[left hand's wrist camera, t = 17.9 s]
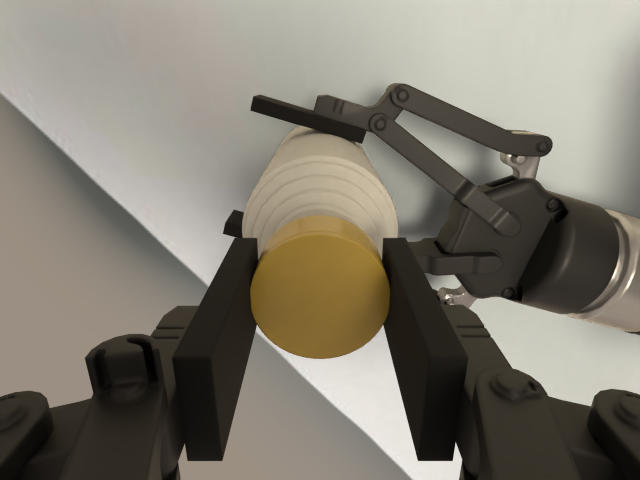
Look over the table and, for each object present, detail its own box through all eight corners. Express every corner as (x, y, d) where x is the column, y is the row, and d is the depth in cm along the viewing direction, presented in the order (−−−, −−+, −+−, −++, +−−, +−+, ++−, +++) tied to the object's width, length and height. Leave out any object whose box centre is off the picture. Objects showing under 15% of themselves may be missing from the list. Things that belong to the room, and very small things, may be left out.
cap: (247, 314, 15) (238, 344, 13) (270, 201, 14) (263, 219, 12) (363, 337, 16) (368, 370, 14) (398, 230, 14) (409, 252, 12)
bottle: (382, 178, 32) (465, 313, 14) (309, 226, 34) (297, 407, 15) (331, 101, 30) (350, 139, 12) (256, 156, 32) (168, 267, 13)
